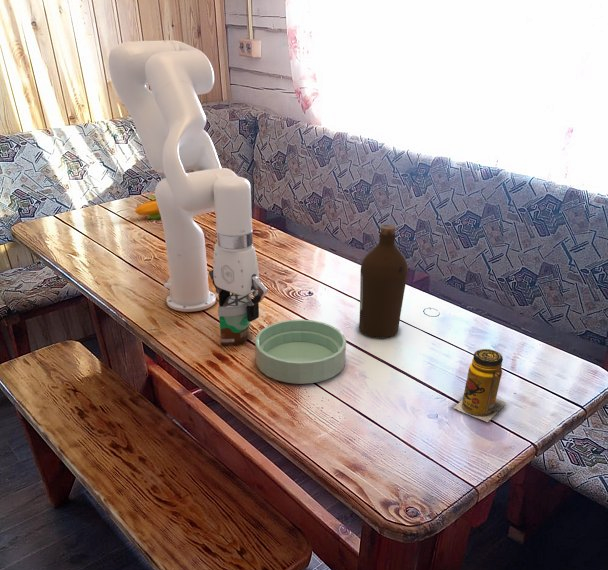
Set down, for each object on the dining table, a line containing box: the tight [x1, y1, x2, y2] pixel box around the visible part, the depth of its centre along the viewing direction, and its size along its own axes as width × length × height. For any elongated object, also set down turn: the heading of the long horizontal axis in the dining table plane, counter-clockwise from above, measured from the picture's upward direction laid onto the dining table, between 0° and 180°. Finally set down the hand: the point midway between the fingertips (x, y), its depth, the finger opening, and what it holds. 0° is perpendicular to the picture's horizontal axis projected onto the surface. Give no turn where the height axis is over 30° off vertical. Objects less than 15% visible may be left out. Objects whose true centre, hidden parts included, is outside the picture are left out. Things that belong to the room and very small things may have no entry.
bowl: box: [254, 319, 347, 385], centre depth 128 cm, size 19×19×6 cm
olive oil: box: [358, 224, 409, 339], centre depth 136 cm, size 11×11×25 cm
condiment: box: [453, 348, 507, 423], centre depth 113 cm, size 7×8×12 cm
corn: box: [134, 195, 161, 220], centre depth 211 cm, size 7×8×20 cm
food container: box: [217, 292, 253, 346], centre depth 136 cm, size 12×6×10 cm, turn 168°
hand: (239, 313), depth 135 cm, fingers open, 8 cm apart
